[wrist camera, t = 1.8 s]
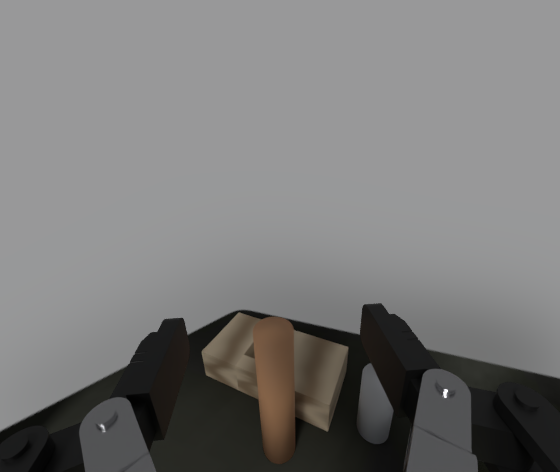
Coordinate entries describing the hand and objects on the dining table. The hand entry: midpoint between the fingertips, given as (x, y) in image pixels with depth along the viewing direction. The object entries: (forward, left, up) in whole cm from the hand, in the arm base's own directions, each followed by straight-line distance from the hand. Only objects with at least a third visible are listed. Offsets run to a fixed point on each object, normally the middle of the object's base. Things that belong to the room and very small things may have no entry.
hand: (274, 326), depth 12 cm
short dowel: (+5, +16, -28) cm, 33 cm away
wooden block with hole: (-11, +18, -28) cm, 35 cm away
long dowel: (-5, +9, -28) cm, 30 cm away
